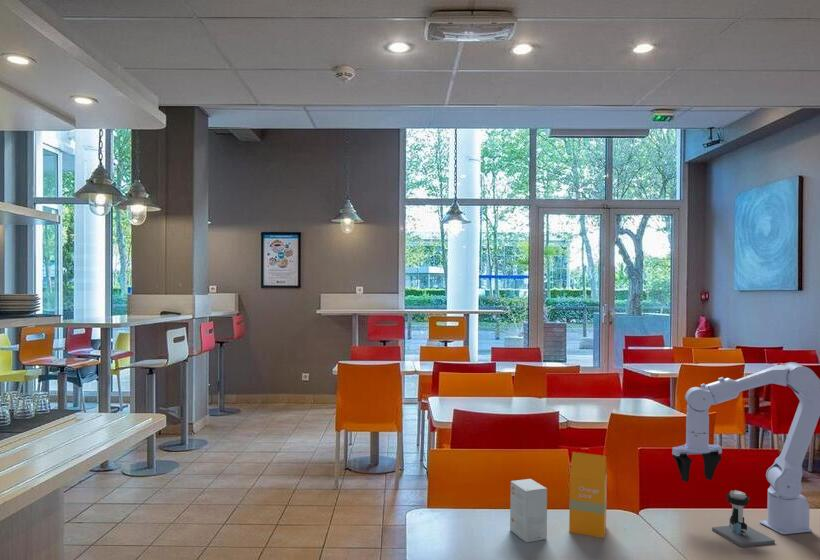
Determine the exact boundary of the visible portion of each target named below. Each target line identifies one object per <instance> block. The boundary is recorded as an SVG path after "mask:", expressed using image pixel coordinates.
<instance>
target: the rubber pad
mask: <svg viewBox="0 0 820 560" xmlns="http://www.w3.org/2000/svg"><path fill="white" fill-rule="evenodd" d="M711 530H712V531H713V532H715V533H716V534H718V535H719V536H721V537H723V538H724V539H727V541H730V542H732V543H733V544H735V545H737V546H738V547H740V548H743V547H745V548H747V547H753V546H754V547H755V546H762V545H763V546H764V545H765V546H766V545H772V544H773V545H774V544H775V542H776V541H775V539H773V538H771V537H770V536H768V535H766V534H764V533H763V532H760V531H758V530H756V529H754V528H752V527H751V526H749V525H747V532H745V533H746V534H747V535H748V536H744V535H743V534H737V533H736V532H735V531H732V530H731V528H730V527H729V525H722V526H713V527H711Z"/></svg>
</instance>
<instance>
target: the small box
mask: <svg viewBox="0 0 820 560" xmlns="http://www.w3.org/2000/svg"><path fill="white" fill-rule="evenodd" d="M509 503H510V504H509V505H510V506H509V507H510V509H509V510H510V511H509V512H510V513H509V514H510V515H509V518H510V519H509V531H511V532H512V533H513V534H514V535H516V536H517V537H518V538H519V539H520V540H522V541H523V542H524V543H532V542H537V541H542V540H543V541H544V540H546V539H548V488H547V487H546V486H543V485H542V484H541V483H539V482H537V481H535V480H534V479H532V478H526V479H517V480H511V481H510V502H509Z"/></svg>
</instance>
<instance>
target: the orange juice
mask: <svg viewBox="0 0 820 560" xmlns="http://www.w3.org/2000/svg"><path fill="white" fill-rule="evenodd" d="M607 472H608V471H607V456H606V455H603V454H594V453H588V452H587V453H585V452H576V451H572V452H571V464H570V476H569V499H568V501H569V505H568V506H569V507H568V508H569V509H568V510H569V516H568V517H569V521H568V522H569V524H568V527H569V529H568V530H569V531H568V532H569V533H571V534H572V533H574V534H577V535H578V534H579V535H584V536H585V535H586V536H590V537H591V536H592V537H597V538H605V534H606V528H607V502H608V501H607V499H608V498H607V488H608V487H607V482H608V481H607V480H608V479H607V478H608V477H607V475H608V473H607Z"/></svg>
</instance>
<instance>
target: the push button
mask: <svg viewBox="0 0 820 560" xmlns="http://www.w3.org/2000/svg"><path fill="white" fill-rule="evenodd" d="M725 495H726V501H727V503H730V505H732V507H731V510H732V511H731V512H732V513H731V515H730V517H729V525H728V526H729V527H730V528H731V530H732V531H735V532H736V533H737V534H743V535H744V536H748V535H747V534H746V533H745V532H747V526H748V524H747V523H745V517H744V507H746V506H748V505H749V502H750V499H751V498H750V497H749V496H748V495H747V494H746V492H745V491H744V492H743V491H740V490H737V489H734V490H730V491H729V492H728V493H726V494H725Z"/></svg>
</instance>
